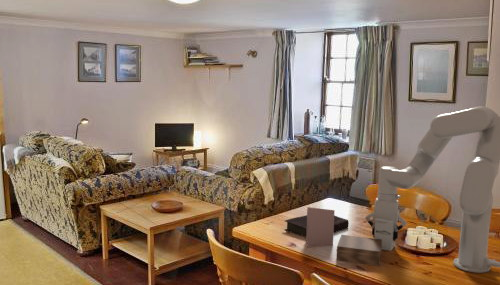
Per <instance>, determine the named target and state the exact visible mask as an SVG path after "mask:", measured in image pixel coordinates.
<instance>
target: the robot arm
mask: <svg viewBox="0 0 500 285" xmlns="http://www.w3.org/2000/svg"><path fill="white" fill-rule="evenodd" d="M475 133H478V140H477V142H476V147H475V152H474V156H473V158H472V160H471V161H470V162H469V163H468V165H467V166H466V169H465V171H464V176H463V181H462V185H461V188H460V194H459V200H458V201H459V206H460V209H461V210H462V214H461V224H460V232H459V233H460V234H459V245H458V254H457V255H458V256H457V257H455V258H454V259H453V260H452V261H453V266H455V267H456V268H457V269H460V270H462V271H466V272H470V273H480V274H482V273H488V272H490V271H491V267H494V268H495V267H496V268H500V261H497V259H490V258H489V257H488V246H489V234H490V227H491V226H490V225H491V218H492V211H493V210H492V209H493V204H494V196H493V192H492V191H493V187H494V183H495V179H496V178H497V176H498V174H499V171H500V170H499V169H500V115H499V114H498V113H497V112H495V111H494V110H493V109H492V108H489V107H487V106H483V105H482V106H480V105H479V106H475V107H471V108H469V109H463V110H460V111H459V110H458V111H455V112H451V113H450V112H449V113H441V114H439V115H437V116H435V117H433V119H432V121H431V123H430V128H429V129H428V131H427V132H425V134H424V136H423V137H422V139H421V140H420V141H419V143H418V144H417V151H416V153H415V155H414V156H413V158H412V160H411V161H410V162H409V163H408V165H407V166H406V167H405V168H403V169H398V168H397V167H395V166H390V165H389V166H386V165H385V166H384V165H383V166H381V167H380V168H379V171H378V182H377V183H378V185H377V187H378V188H377V197H376V198H375V201H374V206H373V212H371V213H369V214H368V215H366V216H365V218H364V219H365V220H366V221H367V223H368V225H370V226H371V235H372V238H374V233H375V219H376V218H379V219H386V220H392V221H394V229H395V230H394V235H393V240H394V241H396V239H398V237H399V231H400V230H401V229H403V228H404V227H405V226H406V225H407V224H408V223H407V221H406V220H405V219H404V218H403V217H402V216H400V203H399V202H400V201H399V200H400V199H401V195H399V194H398V188H399V189H404V190H408V189H411V188H413V187H414V186H416V185H417V184H419V183H420V181H422V180H423V178H424V176H425V175H426V174H427V173H428V171H429V170H430V168H431V167H432V166H433V164H434V163H435V161H436V160H438V157H439V156H440V155H441V153H442V152H443V150H444V149H445V148H446V147H447V145H448V144H449V142H451V140H452V139H453V137H458V136H465V135H469V134H475ZM398 199H399V200H398ZM371 218H372V220H371ZM399 222H400V224H399V225H398V223H399Z"/></svg>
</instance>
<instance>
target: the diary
mask: <svg viewBox="0 0 500 285" xmlns="http://www.w3.org/2000/svg"><path fill="white" fill-rule="evenodd" d="M284 222H285V223H286V228H285V229H284V231H286V232H289V233H291V234H294V235H298V236H303V237H306V232H307V214H306V215H302V216H296V217H292V218H289V219H285V220H284ZM348 228H349V219H345V218H342V217H340V216H337V215H335V214H334V233H333V234H335V233H338V232H341V231H344V230H347V229H348Z"/></svg>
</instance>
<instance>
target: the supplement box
mask: <svg viewBox="0 0 500 285" xmlns="http://www.w3.org/2000/svg"><path fill="white" fill-rule="evenodd" d="M394 230H395V229H394V221H392V220H386V219H379V218H376V219H375V233H374V239H382V248H381V250H383V251H389V252H392V251H393V248H394V247H395V241H396V240H395V241H394V240H393V235H394Z"/></svg>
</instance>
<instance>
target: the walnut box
mask: <svg viewBox="0 0 500 285" xmlns="http://www.w3.org/2000/svg"><path fill="white" fill-rule="evenodd" d="M381 248H382V239H374V238H373V237H364V236H356V235H349V234H341V236H340V237H339V240H338V242H337V246H336V261H338V262H347V263H354V264H361V265H369V266H375V267H376V266H377V267H380V264H381V257H382V249H381Z"/></svg>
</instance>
